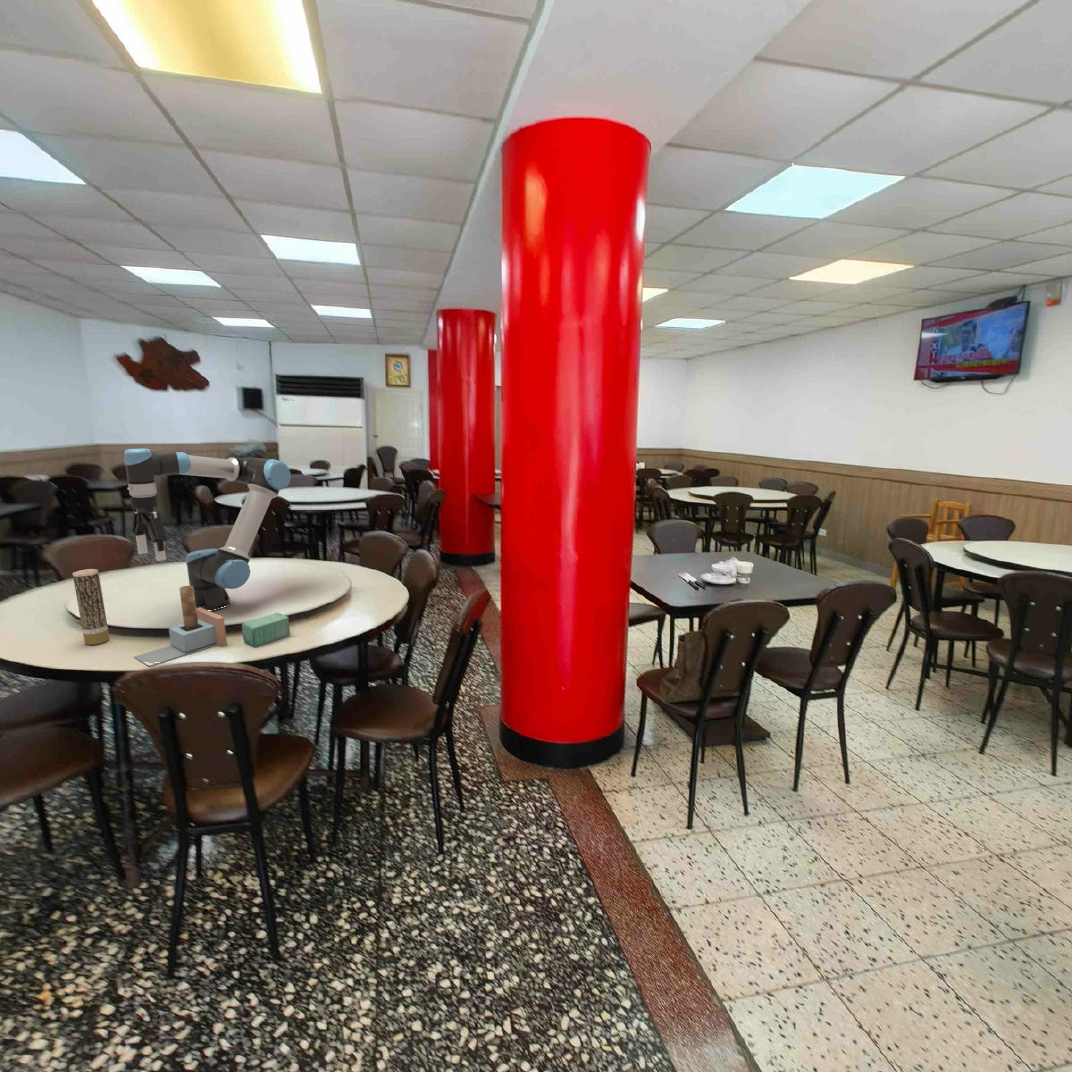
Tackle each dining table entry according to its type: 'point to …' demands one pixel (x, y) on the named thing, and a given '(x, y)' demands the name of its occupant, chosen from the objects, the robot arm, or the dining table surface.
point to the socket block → (192, 636)
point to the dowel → (189, 608)
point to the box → (265, 629)
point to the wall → (214, 624)
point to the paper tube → (91, 606)
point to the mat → (166, 654)
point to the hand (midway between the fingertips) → (152, 556)
